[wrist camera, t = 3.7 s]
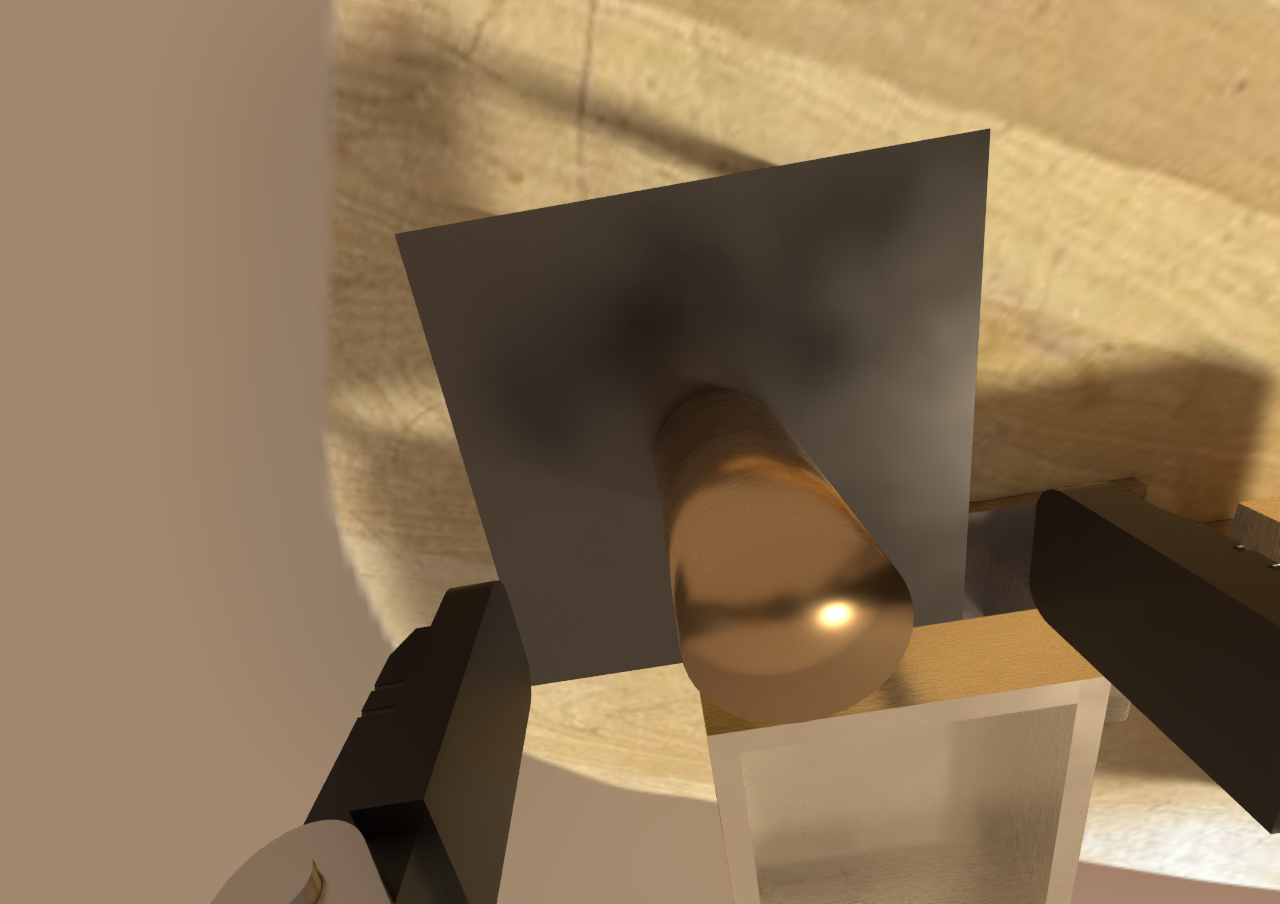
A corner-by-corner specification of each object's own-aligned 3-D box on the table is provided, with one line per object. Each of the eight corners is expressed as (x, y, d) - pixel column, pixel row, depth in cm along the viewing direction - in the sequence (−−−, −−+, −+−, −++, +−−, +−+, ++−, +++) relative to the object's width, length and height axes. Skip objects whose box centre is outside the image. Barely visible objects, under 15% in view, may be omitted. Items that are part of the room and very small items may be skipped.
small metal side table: (500, 222, 21) (174, 257, 6) (811, 167, 21) (1383, 42, 5) (565, 498, 25) (482, 953, 10) (825, 456, 25) (1163, 858, 10)
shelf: (671, 525, 26) (707, 736, 16) (1381, 411, 25) (1925, 554, 15) (700, 705, 30) (744, 968, 20) (1314, 612, 29) (1702, 837, 19)
